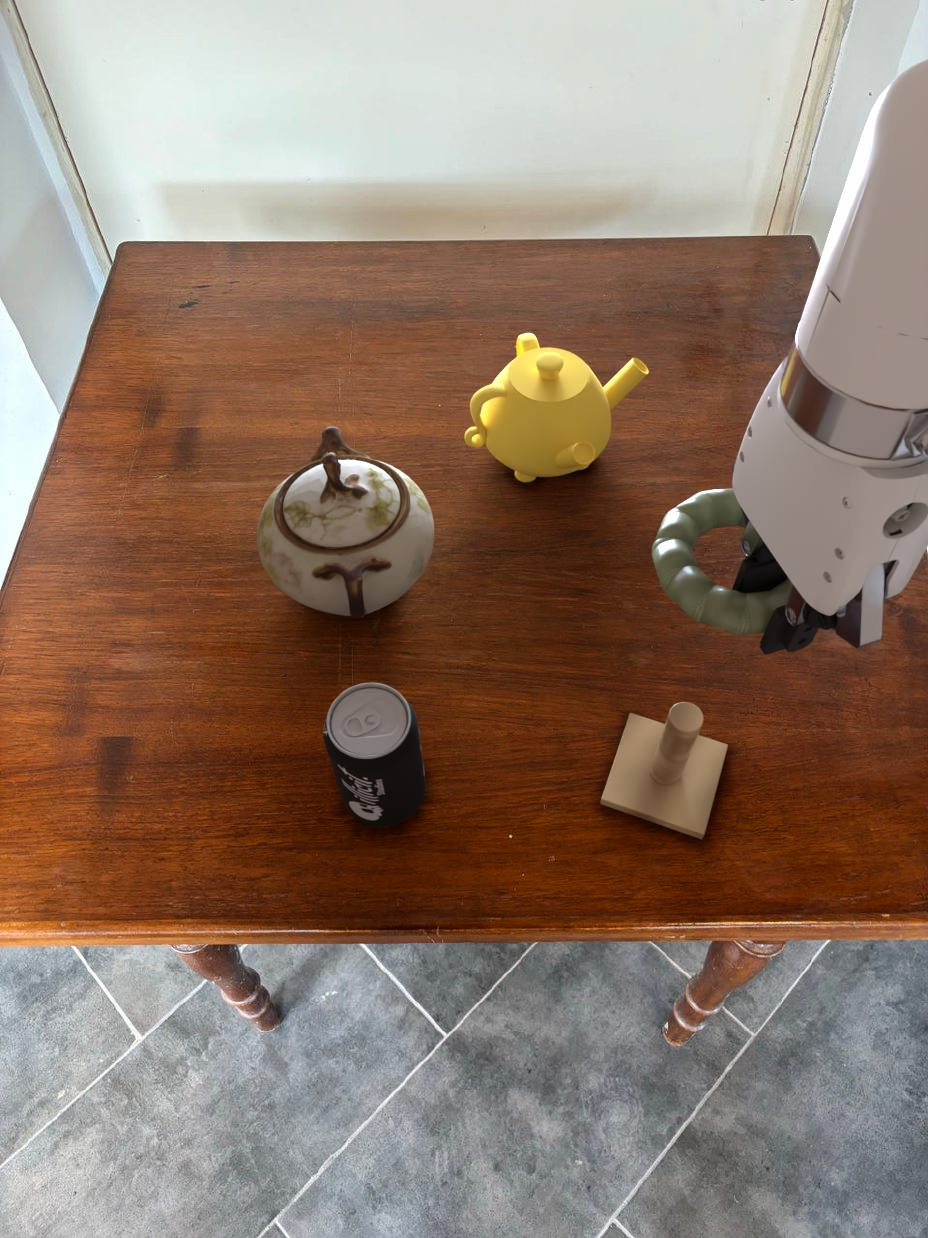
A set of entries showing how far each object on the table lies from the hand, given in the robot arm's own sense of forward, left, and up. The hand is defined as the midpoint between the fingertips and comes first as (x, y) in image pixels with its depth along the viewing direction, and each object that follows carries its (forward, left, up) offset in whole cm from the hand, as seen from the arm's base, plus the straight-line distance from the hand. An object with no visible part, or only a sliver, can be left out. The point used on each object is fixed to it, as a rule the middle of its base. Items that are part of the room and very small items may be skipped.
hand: (769, 618), depth 56 cm
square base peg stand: (+3, +1, -22) cm, 22 cm away
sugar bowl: (+34, -8, -22) cm, 41 cm away
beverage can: (+23, +10, -22) cm, 33 cm away
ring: (+3, -3, +1) cm, 4 cm away
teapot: (+22, -29, -22) cm, 42 cm away
